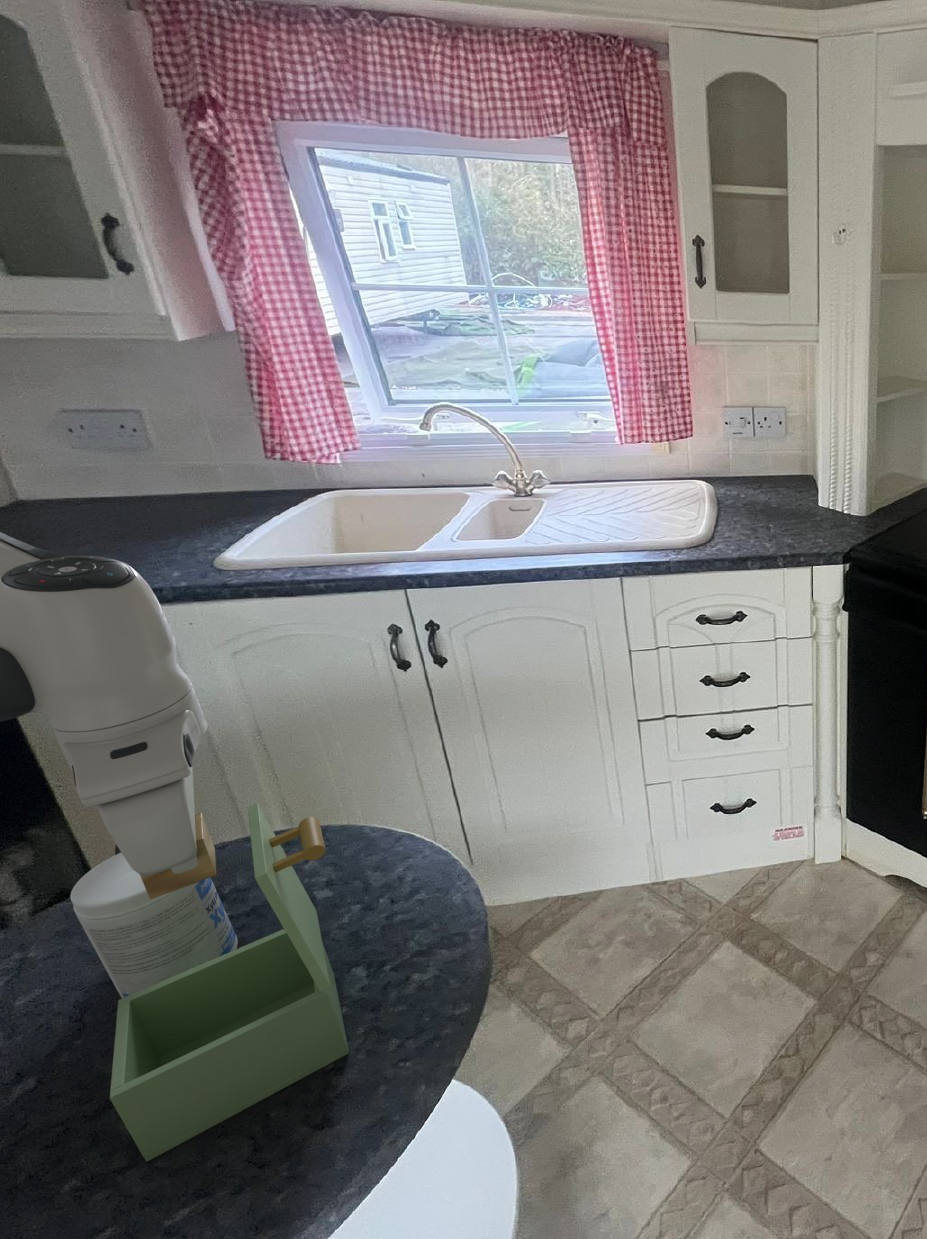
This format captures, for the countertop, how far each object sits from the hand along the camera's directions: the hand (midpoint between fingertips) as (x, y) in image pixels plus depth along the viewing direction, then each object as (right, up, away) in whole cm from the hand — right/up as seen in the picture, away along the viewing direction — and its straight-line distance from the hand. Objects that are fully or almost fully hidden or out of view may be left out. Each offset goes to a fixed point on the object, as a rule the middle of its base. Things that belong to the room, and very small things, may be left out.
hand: (186, 848), depth 71 cm
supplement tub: (-11, -18, +11) cm, 24 cm away
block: (-1, -3, 0) cm, 3 cm away
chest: (+4, -22, +2) cm, 22 cm away
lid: (+9, -5, 0) cm, 11 cm away
